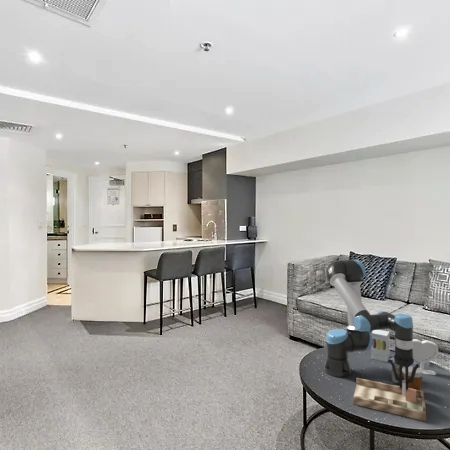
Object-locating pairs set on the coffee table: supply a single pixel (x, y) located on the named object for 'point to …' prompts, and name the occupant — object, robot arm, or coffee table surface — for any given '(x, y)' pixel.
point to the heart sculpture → (424, 353)
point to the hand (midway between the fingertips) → (403, 394)
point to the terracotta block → (411, 395)
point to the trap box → (388, 399)
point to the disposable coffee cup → (417, 377)
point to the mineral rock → (397, 374)
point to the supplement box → (381, 345)
